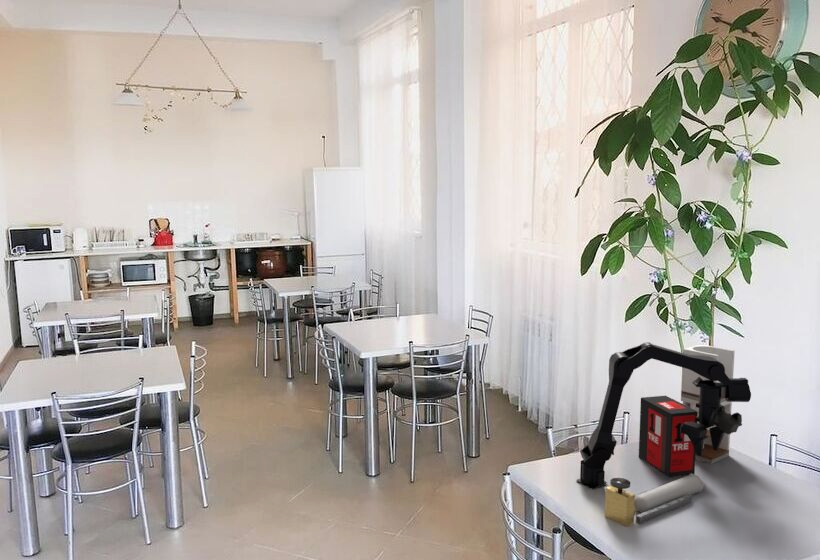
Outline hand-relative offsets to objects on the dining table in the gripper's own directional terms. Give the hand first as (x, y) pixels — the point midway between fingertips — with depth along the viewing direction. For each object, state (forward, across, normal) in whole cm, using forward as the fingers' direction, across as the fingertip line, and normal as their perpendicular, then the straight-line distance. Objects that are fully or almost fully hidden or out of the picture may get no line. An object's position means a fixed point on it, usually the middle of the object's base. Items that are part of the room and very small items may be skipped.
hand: (707, 453), depth 203 cm
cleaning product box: (+10, +3, +16) cm, 19 cm away
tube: (+10, -18, 0) cm, 21 cm away
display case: (+10, +21, +15) cm, 28 cm away
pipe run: (+10, -26, 0) cm, 28 cm away
